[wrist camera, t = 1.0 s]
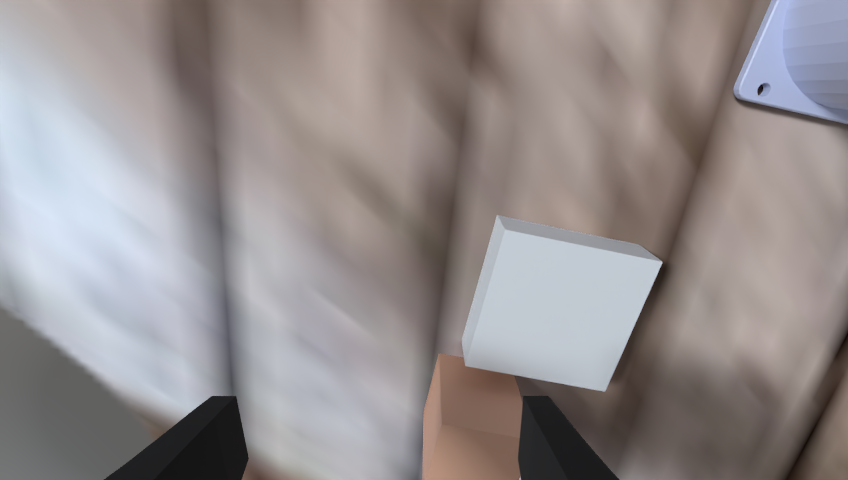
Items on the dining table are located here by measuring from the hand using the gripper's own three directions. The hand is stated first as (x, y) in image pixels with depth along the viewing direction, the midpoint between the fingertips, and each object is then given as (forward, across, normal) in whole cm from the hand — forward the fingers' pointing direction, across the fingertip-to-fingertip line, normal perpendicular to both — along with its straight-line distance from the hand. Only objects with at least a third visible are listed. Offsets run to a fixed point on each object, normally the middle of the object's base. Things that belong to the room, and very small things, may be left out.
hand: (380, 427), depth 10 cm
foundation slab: (+11, -7, +2) cm, 13 cm away
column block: (+10, -3, +8) cm, 13 cm away
